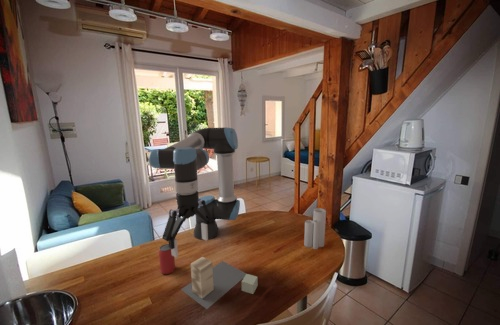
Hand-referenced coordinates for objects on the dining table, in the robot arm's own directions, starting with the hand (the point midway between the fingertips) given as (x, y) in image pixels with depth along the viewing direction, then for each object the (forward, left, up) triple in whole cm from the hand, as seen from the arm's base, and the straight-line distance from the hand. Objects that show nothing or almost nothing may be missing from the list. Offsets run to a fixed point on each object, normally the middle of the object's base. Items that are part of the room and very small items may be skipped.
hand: (190, 247), depth 84 cm
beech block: (-1, +5, -23) cm, 23 cm away
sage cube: (+13, +18, -24) cm, 32 cm away
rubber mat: (-1, +12, -24) cm, 27 cm away
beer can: (-25, +4, -24) cm, 35 cm away
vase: (+21, +66, -24) cm, 73 cm away
